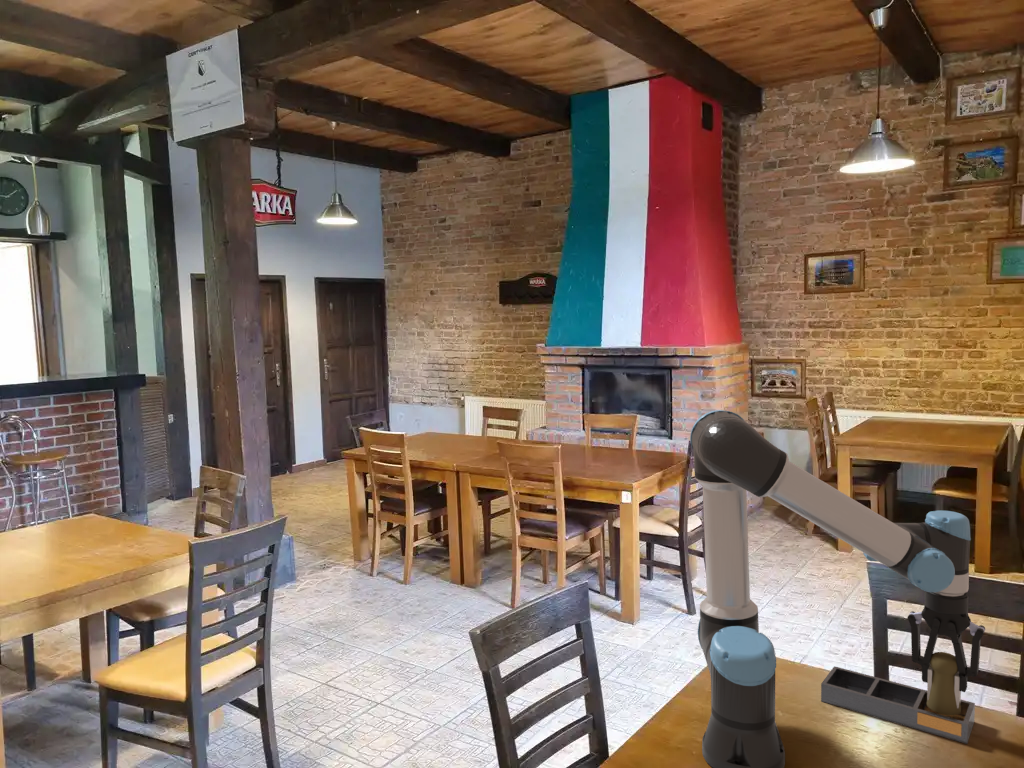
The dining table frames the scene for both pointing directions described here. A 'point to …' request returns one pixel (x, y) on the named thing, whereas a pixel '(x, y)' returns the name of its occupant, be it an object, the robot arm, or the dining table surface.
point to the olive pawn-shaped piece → (943, 684)
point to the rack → (895, 703)
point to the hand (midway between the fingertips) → (943, 701)
